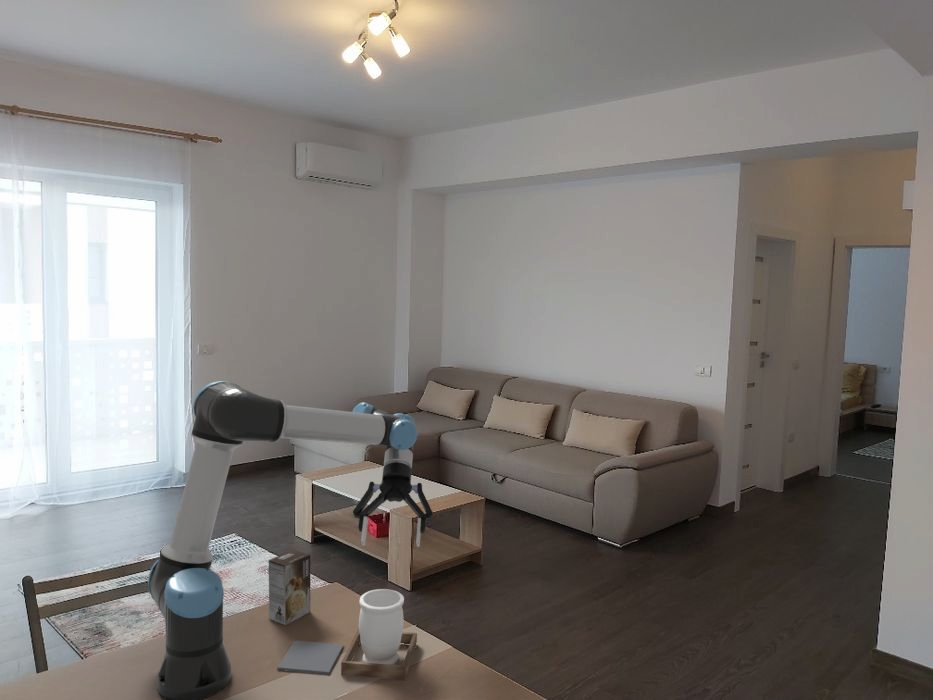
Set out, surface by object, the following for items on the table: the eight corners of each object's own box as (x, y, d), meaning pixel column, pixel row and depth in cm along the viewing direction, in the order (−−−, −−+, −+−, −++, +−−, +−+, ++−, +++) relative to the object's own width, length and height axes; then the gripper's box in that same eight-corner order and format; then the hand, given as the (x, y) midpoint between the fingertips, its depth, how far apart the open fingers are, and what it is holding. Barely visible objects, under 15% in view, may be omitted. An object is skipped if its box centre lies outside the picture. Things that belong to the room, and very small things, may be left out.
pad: (277, 669, 160) (277, 667, 160) (295, 642, 172) (295, 640, 171) (329, 674, 159) (329, 671, 158) (343, 646, 170) (343, 644, 170)
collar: (341, 675, 158) (341, 662, 158) (358, 639, 174) (358, 628, 174) (405, 680, 157) (405, 667, 157) (416, 644, 173) (416, 633, 172)
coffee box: (293, 605, 191) (294, 548, 189) (311, 612, 187) (311, 554, 186) (267, 619, 183) (267, 559, 181) (285, 626, 179) (285, 565, 178)
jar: (394, 674, 159) (396, 611, 158) (351, 668, 161) (352, 605, 160) (408, 650, 170) (409, 591, 168) (367, 644, 172) (368, 585, 170)
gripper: (444, 476, 190) (441, 551, 177) (352, 473, 190) (342, 548, 177) (444, 462, 184) (440, 539, 171) (349, 459, 184) (338, 536, 171)
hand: (390, 544), depth 174 cm, fingers open, 13 cm apart
